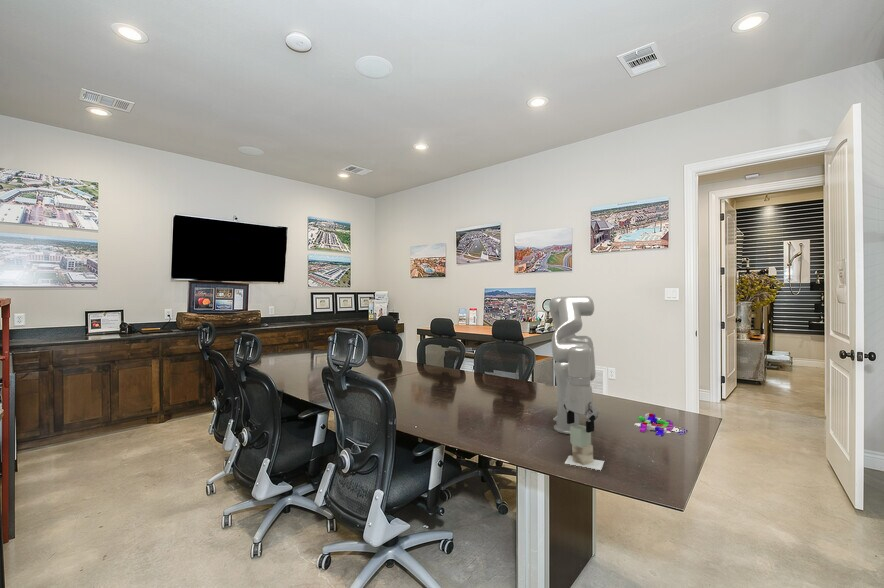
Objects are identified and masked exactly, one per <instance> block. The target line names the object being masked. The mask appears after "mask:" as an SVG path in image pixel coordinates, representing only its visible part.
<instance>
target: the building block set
mask: <svg viewBox="0 0 884 588" xmlns="http://www.w3.org/2000/svg"><path fill="white" fill-rule="evenodd" d="M656 415H657V414H655V413H650V412H649V413H645V415H644V416H641V415H640V416H639V415H638V417H637V420H640V421H639V422H640V423H639V422H638V423H636V422H635V423H634V424H633V425H634V426H635V425H636V426H635V427H637V426H638V427H637V428H639V433H642V432H644V433H645V432H646V431H650V430H651V431H654V432H655V431H658V432H656V433H655V436H657V435H661V436H660V437H663V436H664V435H665V434H666V433H671V434H672V432H670V431H675V432H678V433H683V432H684V433H685V431H682V430H680V431H681V432H680V431H679V429H678V428H675V427H676V426H673V421H671V419H666V420H665V419H662V418H661V417H656ZM660 419H661V420H660ZM642 421H643V422H642ZM653 422H654V423H653ZM656 423H657V424H656ZM662 424H664V425H662ZM653 425H657V426H653ZM658 426H662V427H658ZM667 427H672V428H673V429H671V428H667ZM667 430H669V431H667ZM676 430H677V431H676ZM684 430H685V429H684ZM686 431H687V432H688V429H687V430H686ZM663 432H666V433H663ZM678 433H677V434H678ZM663 434H664V435H663Z"/></svg>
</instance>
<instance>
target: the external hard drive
mask: <svg viewBox="0 0 884 588" xmlns="http://www.w3.org/2000/svg"><path fill="white" fill-rule="evenodd" d="M604 462H605V460H601V459H600V460H599V459H594V458H593V463H589V464H586V465H582V464H579V463H577V462H575V461H573V458H572V455H568V456H567V458H566V460H565V461H564V465H565V464H570V465H569V466H571V465H576V466H582V467H587V468H591V469H590V470H592V469H595V470H594V471H597V470H600V471H599V472H602V471H603V467H604V465H605V463H604ZM576 466H575V467H576ZM601 470H602V471H601Z"/></svg>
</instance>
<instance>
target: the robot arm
mask: <svg viewBox="0 0 884 588" xmlns="http://www.w3.org/2000/svg"><path fill="white" fill-rule="evenodd" d="M548 305H549V312H550V313H549V314H550V316H551V319H552V321H553V324H554V327H555V330H554V332H553V333H552V336H551V349H552V351H551V352H552V357H553V360H554V361H555V364H554V366H553V367H554V368H553V369H554V370H553V371H554V375H555V382H556V383H555V384H556V385H555V386H556V409H557V410H556V415H555V416H554V417H553V419H552V420H553V421H555V423H556V424H554V425H553V429H554V431H555V432H558V433H559V434H560V433H561V434H564V435H570V427H571V426H576V425H581V423H580V416H584V417H585V419H586V421H585V427H586V432H587V433H589V432H591V433H593V432H594V431H595V421H596V419H597V418H598V416H599V414H600V411H599V409H597V408H596V407H595V404H594V395H593V388H592V385H591V382H592V381H594V379H595V378H596V363H595V362H596V360H595V351H594V350H595V347H594V343H593V340H592V338H591V337H590V336H588V335H576V334H577V333H578V332H580V331H581V330H582V328H583V321H582V317H588V316H589V317H591V316H592V315H593V314H594V312H595V304H594V300H593V299H592V298H591V297H590V296H587V295H582V296H581V295H579V296H573V295H572V296H570V295H569V296H556V297H554V298H551V299H550V301H549V304H548Z"/></svg>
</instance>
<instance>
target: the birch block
mask: <svg viewBox="0 0 884 588" xmlns="http://www.w3.org/2000/svg"><path fill="white" fill-rule="evenodd" d="M571 447H572V450H571V451H572V455H571V456H572V458H573V461H575V462H577V463H579V464H582V465H586V464H589V463H593V459H594V445H593V444H591V445H590V446H586V447H581V448H580V447H578V446H576V445H574V444H571Z"/></svg>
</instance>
